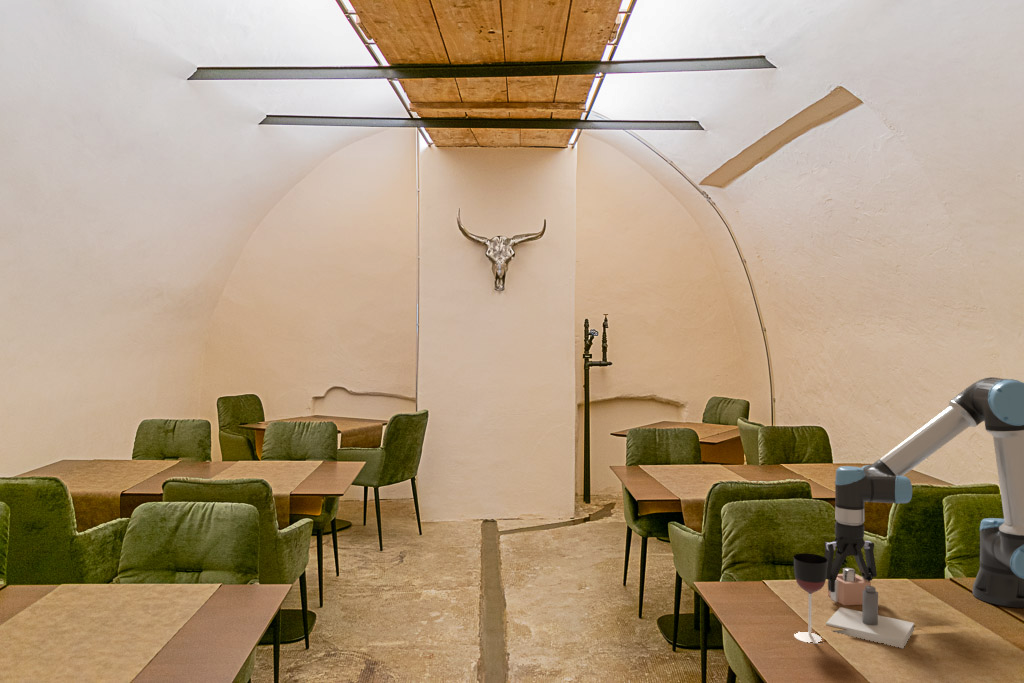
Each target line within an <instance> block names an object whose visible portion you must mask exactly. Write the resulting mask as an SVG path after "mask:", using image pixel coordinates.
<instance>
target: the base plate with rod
mask: <svg viewBox="0 0 1024 683" xmlns="http://www.w3.org/2000/svg"><path fill="white" fill-rule="evenodd" d="M861 610H862V611H860V610H856V609H851V608H847V607H841V606H840V607H838V609H837V610H836V611H835V612H834V614H832V615H831V617H830V618H828V620H827V621H826V622H825V625H826V626H829V627H834V628H838V629H839V630H832V631H833V632H832V633H835V632H837V633H836V634H839V633H841V634H840V635H843V634H845V635H844V636H847V635H849V636H848V637H852V636H853V637H852V638H856V637H857V638H856V639H860V638H861V640H864V639H865V641H869V640H870V641H869V642H873V641H874V643H877V642H878V644H881V643H884V644H883V645H886V644H887V645H886V646H890V645H891V646H890V647H894V646H895V648H898V647H899V649H904V648H905V647H906V645H907V643H908V642H909V640H910V638H911V637H912V635H911V634H913V633H914V632H915V622H912V621H907V620H904V619H898V618H894V617H889V616H883V615H879V592H878V591H876V587H875V586H873V585H871V586H865V590H863V604H862V609H861ZM841 629H842V630H841ZM913 631H914V632H913ZM912 632H913V633H912ZM910 636H911V637H910ZM908 639H909V640H908ZM907 641H908V642H907ZM904 646H905V647H904Z"/></svg>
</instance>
